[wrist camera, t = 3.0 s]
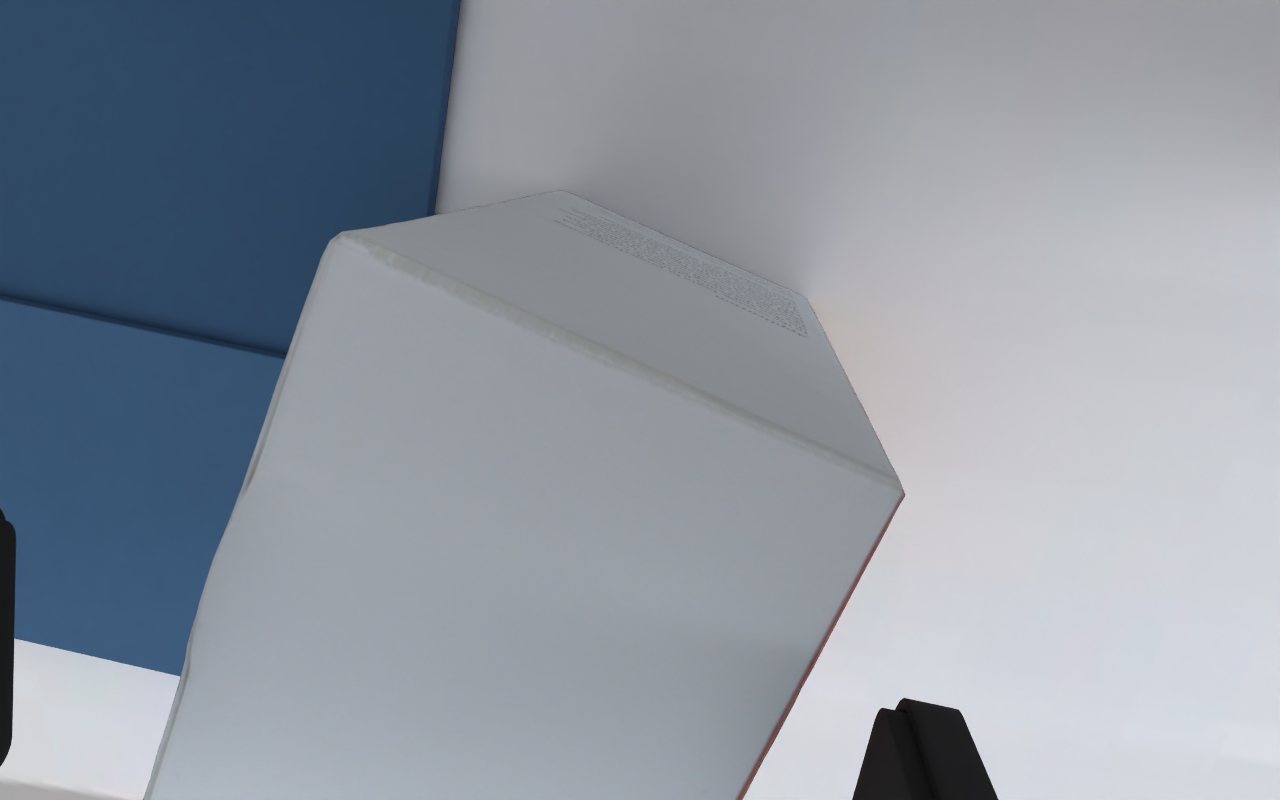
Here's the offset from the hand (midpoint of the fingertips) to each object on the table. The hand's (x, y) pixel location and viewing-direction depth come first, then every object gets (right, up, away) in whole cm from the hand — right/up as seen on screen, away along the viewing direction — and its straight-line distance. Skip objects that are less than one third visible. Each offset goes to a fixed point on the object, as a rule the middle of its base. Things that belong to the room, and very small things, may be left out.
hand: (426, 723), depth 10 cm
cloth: (-9, +6, +13) cm, 17 cm away
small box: (+2, +3, +13) cm, 13 cm away
